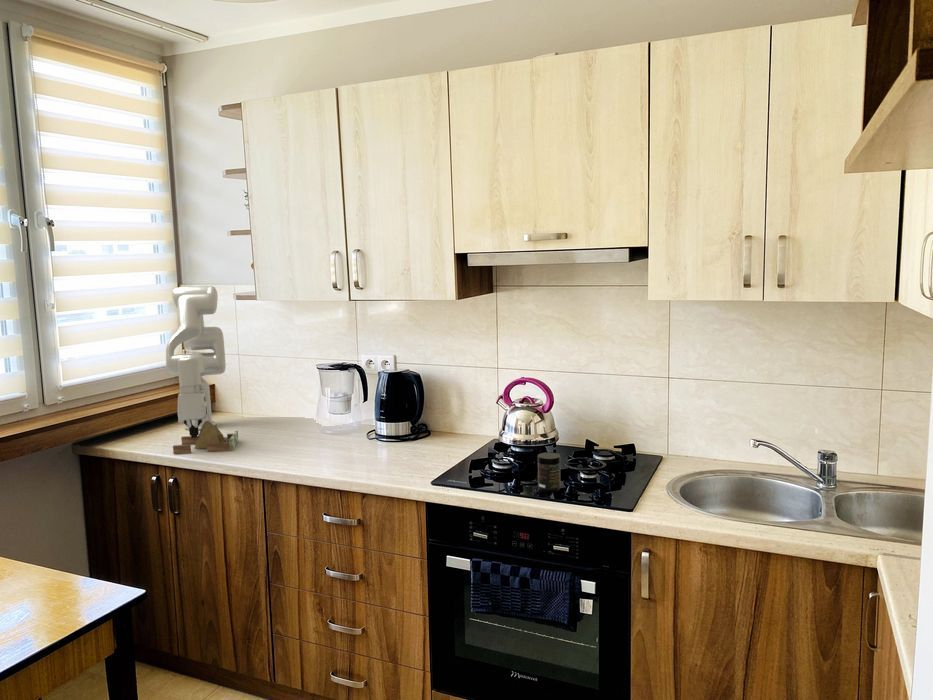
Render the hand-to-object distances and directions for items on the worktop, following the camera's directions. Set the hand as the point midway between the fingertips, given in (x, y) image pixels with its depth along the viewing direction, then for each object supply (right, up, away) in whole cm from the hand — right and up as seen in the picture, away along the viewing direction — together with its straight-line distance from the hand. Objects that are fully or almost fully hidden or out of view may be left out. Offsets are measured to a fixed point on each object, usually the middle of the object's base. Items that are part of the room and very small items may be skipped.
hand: (194, 437), depth 269 cm
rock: (+6, -4, +1) cm, 8 cm away
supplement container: (+128, -9, -55) cm, 140 cm away
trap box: (+4, -4, +4) cm, 7 cm away
